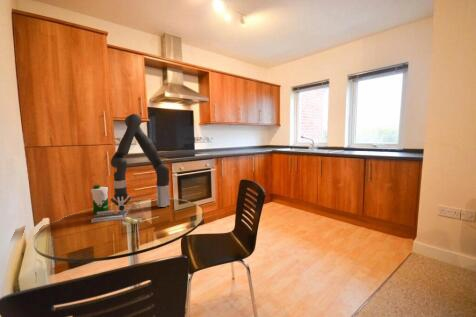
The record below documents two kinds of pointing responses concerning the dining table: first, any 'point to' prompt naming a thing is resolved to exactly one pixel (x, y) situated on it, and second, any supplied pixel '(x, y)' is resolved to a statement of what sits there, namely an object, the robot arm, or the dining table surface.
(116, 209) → the breaker lever
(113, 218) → the panel
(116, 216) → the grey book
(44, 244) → the dining table surface
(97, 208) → the milk carton
